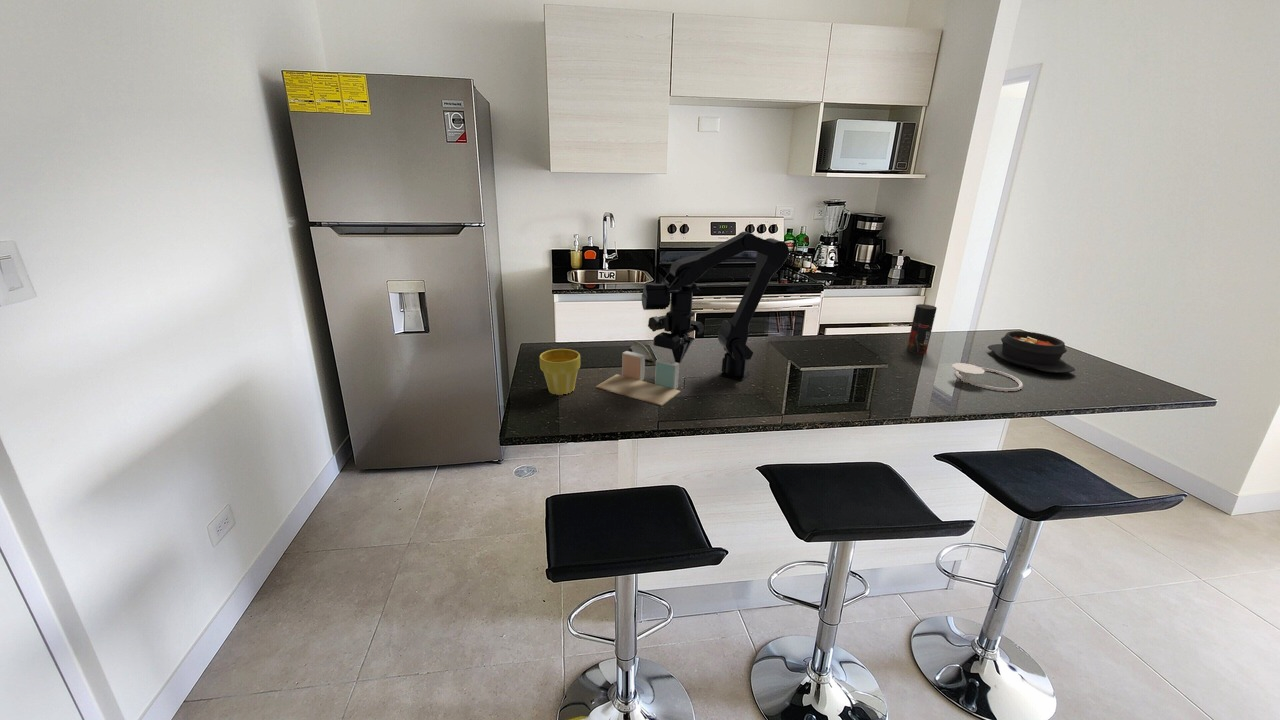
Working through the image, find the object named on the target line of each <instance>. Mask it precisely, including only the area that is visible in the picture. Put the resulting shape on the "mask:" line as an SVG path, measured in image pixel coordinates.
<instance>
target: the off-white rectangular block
mask: <svg viewBox="0 0 1280 720" xmlns="http://www.w3.org/2000/svg"><path fill="white" fill-rule="evenodd" d="M621 359H622V360H621V362H622V364H621V366H622V367H621V368H622V369H621V376H625V377H629V378H633V379H637V380H641V381H644V380H645V367H646V366H645V365H646V360H645V355H642V354H638V353H634V352H632V351H629V350H626V351H624V352H622V358H621Z"/></svg>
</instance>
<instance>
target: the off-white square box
mask: <svg viewBox="0 0 1280 720" xmlns="http://www.w3.org/2000/svg"><path fill="white" fill-rule="evenodd" d="M654 373H655V375H654V384H656V385H660V386H664V387H667V388H671V389H675V390H678V388H679V375H680V364H679V363H676V362H675V361H671V360H667V359H664V358H658V359H657V360H655V372H654Z"/></svg>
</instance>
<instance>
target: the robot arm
mask: <svg viewBox="0 0 1280 720" xmlns="http://www.w3.org/2000/svg"><path fill="white" fill-rule="evenodd" d="M747 250H751V251H754V252H756V253H757V254H756V257H755V269H754V272H753V274H752V276H751V278H750V280H749V282H748V284H747V287H746V289H745V291H744V293H743V295H742V297H741V300H740V302H738V303H739V304H738V305H737V307H736V310H735V312H734V314H733V316H732V317H731V318H730V319H728V320H726V319H723V320H722V322H721V326H720V327H719V329H718V330H717V333H718V336H717V340H718V342H719V344H720V345H721V346H722V347H723V350H724V351H726V352H725V353H724V357H723V358H722V359H721V360H722V361H721V362H722V363H721V373H720V376H721V377H724V378H729V379H733V380H738V381H743V380H744V379H746V377H748V376H749V375H750V371H749V361H750V360H751V359H752V357H753V355H754V352H753V351H752V350H751V348H749V346H748V345H747V342H748V338H749V333H750V332H749V327H750V323H751V321H752V319H753V317H754V314H755V313H756V310H757V308H758V307H759V304H760V302H761V299H762V298H763V295H764V293H765V291H766V289H767V287H768V285H769V283H770V280H771V278H772V277H773V276H774V275H775V274H776V273H777V272H778V271H780V269H781V268H782V267H783V265H784V264H785V262H786V261H787V259H788V257H789V255H790V249H789V246H788V244H787V243H786V242H784V241H782V240H778V239H775V238H773V237H769V238H762V237H760V236H756V235H755V234H753V233H751V232H748V231H741V232H739V233H738V234H736V235H734V236H733V237H731V238H730V239H727V240H726V241H724V242H723V241H722V242H721V243H719V244H717V245H716V246H714V247H712V248H709V249H708V250H705V251H704V252H702V253H699V254H695V255H689V256H685V257H682V258H678V259H676V260H675V261H673V262H672V263H671V265H670V268H669V271H668V273H667V274H666V275H665V277H664V278H663V280H662V281H661V283H649V282H647V283H646V282H645V283H644V287H643V288H642V289H643V290H642V294H641V306H642V309H643V310H644V311H649V310H650V311H651V310H652V311H653V310H654V311H655V310H666V309H667V308H669V306H670V308H669V309H670V310H669V311H667V312H666V314H665V315H662V316H657V315H655V316H652V317H649V318H648V324H647V327H648V328H649V330H651V331H652V332H657V331H659V330H664V331H663V332H661V333H659V334H657V335H656V336H654V337H653V346H655V347H658V348H659V347H660V348H663V349H668V350H671V352H672V355H673V358H674V362H676V363H679V365H680V364H681V363H682V361H683V359H684V357H685V356H686V354H687V352H688V349H689V348H690V347H691V345H692V343H693V341H695V337H692V336H691V335H690V334H691V333H692V332H694V331H696V333H697V335H700V334H703V333H704V329H705V326H704V323H702V321H697V320H692V317H694V316H695V311H693V297H694V296H693V294H698V293H701V292H702V290H701V289H700V288H699V287H698V286H697V283H695V282H696V281H697V280H699V279H700V278H701V277H702V276H703V275H704V274H705V273H706V272H707V271H708V270H710V269H711V268H714V267H715V266H717V265H720V264H722V263H723V262H725V261H727V260H730V259H731V258H733V257H735V256H737V255H739V254H741V253H744V252H745V251H747ZM669 332H670V333H669Z"/></svg>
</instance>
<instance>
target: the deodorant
mask: <svg viewBox="0 0 1280 720" xmlns="http://www.w3.org/2000/svg"><path fill="white" fill-rule="evenodd" d="M915 305H916V306H915V309H914V314H913V319H912V323H911V327H910V332H909V336H908V337H909V338H908V342H907V345H906V346H907V347H906V351H908V352H910V353H913V354H919V355H920V354H921V355H922V354H925V355H926V354H927V353H928V348H929V342H930V337H931V334H932V331H933V326H934V321H935V317H936V313H937V309H938V308H937V307H936V306H935V305H929V304H923V303H922V304H921V303H918V304H915Z"/></svg>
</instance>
